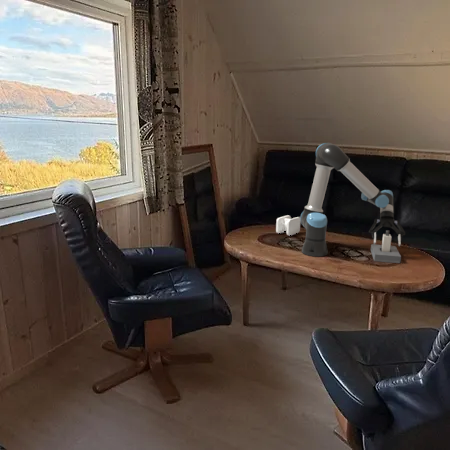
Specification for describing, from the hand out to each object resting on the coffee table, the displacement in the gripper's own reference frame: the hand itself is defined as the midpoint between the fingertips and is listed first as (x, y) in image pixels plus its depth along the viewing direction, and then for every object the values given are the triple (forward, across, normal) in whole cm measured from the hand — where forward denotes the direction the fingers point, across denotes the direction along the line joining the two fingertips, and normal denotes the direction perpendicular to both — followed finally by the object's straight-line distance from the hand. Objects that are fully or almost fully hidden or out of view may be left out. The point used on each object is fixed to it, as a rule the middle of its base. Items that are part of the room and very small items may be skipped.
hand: (387, 244), depth 245 cm
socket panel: (+5, 0, -6) cm, 8 cm away
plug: (+4, 0, -6) cm, 7 cm away
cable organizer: (-18, +60, -30) cm, 70 cm away
